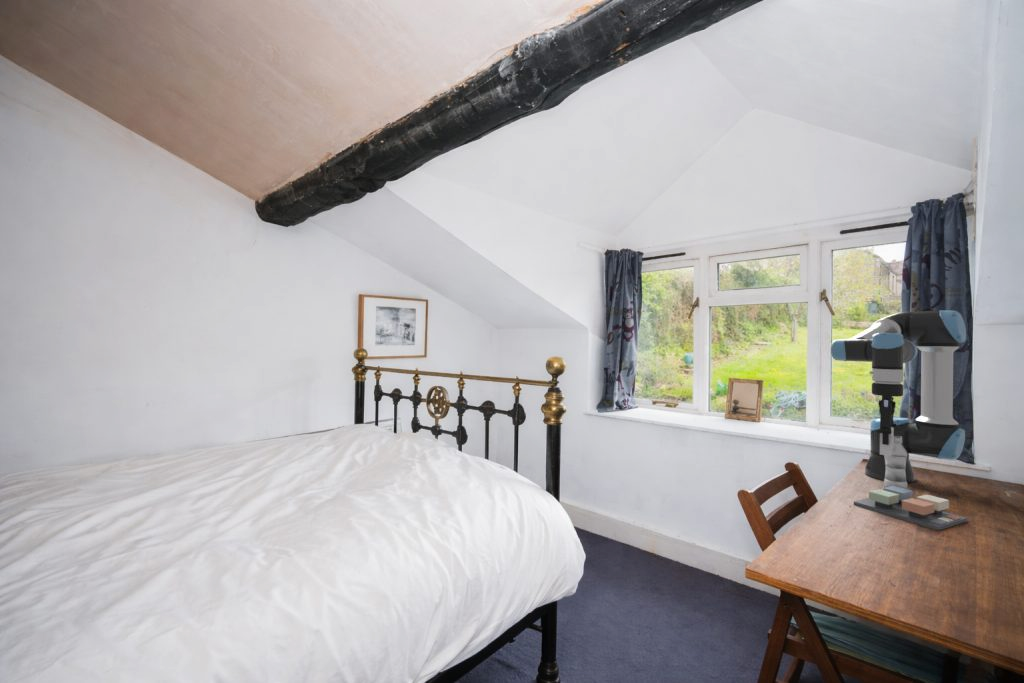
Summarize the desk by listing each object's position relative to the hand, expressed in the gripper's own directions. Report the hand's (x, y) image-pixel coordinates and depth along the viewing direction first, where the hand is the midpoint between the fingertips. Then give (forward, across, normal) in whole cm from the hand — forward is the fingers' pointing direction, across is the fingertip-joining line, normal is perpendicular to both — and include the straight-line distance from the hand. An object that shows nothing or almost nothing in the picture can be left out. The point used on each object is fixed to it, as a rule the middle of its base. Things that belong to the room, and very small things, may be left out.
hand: (886, 451), depth 140 cm
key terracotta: (+17, -1, +7) cm, 18 cm away
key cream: (+17, -8, +11) cm, 22 cm away
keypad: (+20, -7, +5) cm, 21 cm away
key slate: (+17, -12, +2) cm, 21 cm away
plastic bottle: (+20, -27, +1) cm, 33 cm away
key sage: (+17, -5, -1) cm, 18 cm away
